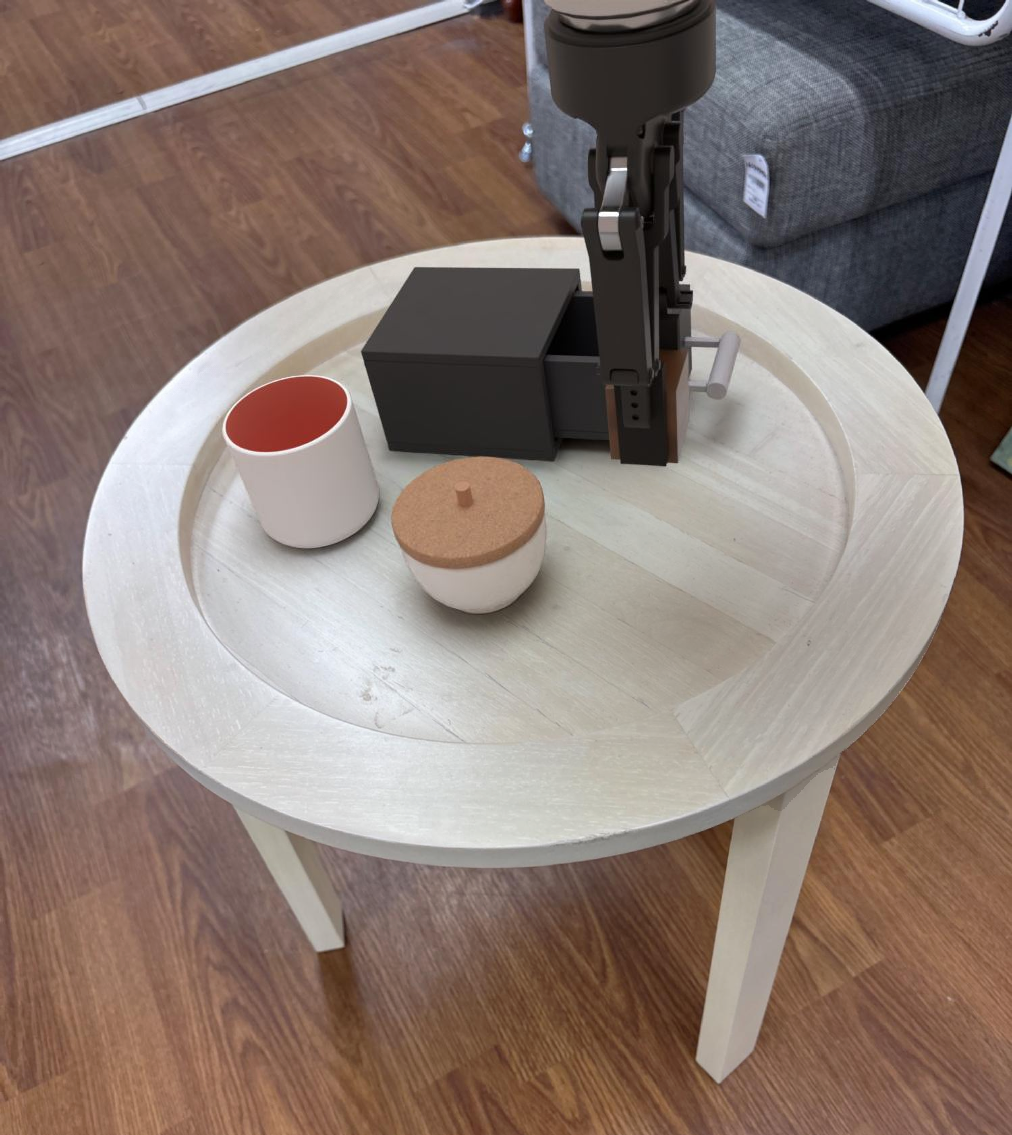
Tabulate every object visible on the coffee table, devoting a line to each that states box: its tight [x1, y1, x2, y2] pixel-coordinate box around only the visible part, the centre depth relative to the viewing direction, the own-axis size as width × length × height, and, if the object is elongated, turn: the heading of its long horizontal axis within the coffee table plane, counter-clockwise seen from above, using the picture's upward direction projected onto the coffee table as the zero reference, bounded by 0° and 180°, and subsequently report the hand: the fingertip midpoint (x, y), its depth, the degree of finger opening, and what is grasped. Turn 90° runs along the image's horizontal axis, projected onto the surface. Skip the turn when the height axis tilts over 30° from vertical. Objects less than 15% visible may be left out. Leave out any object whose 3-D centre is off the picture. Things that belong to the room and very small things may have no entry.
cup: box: [221, 374, 380, 549], centre depth 84 cm, size 10×10×10 cm
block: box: [605, 349, 690, 464], centre depth 62 cm, size 4×4×5 cm
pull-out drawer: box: [543, 283, 742, 441], centre depth 86 cm, size 18×12×8 cm, turn 73°
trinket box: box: [390, 456, 548, 615], centre depth 76 cm, size 11×11×9 cm
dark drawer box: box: [360, 266, 583, 462], centre depth 90 cm, size 15×13×10 cm
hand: (651, 435), depth 64 cm, fingers closed on block, 4 cm apart
